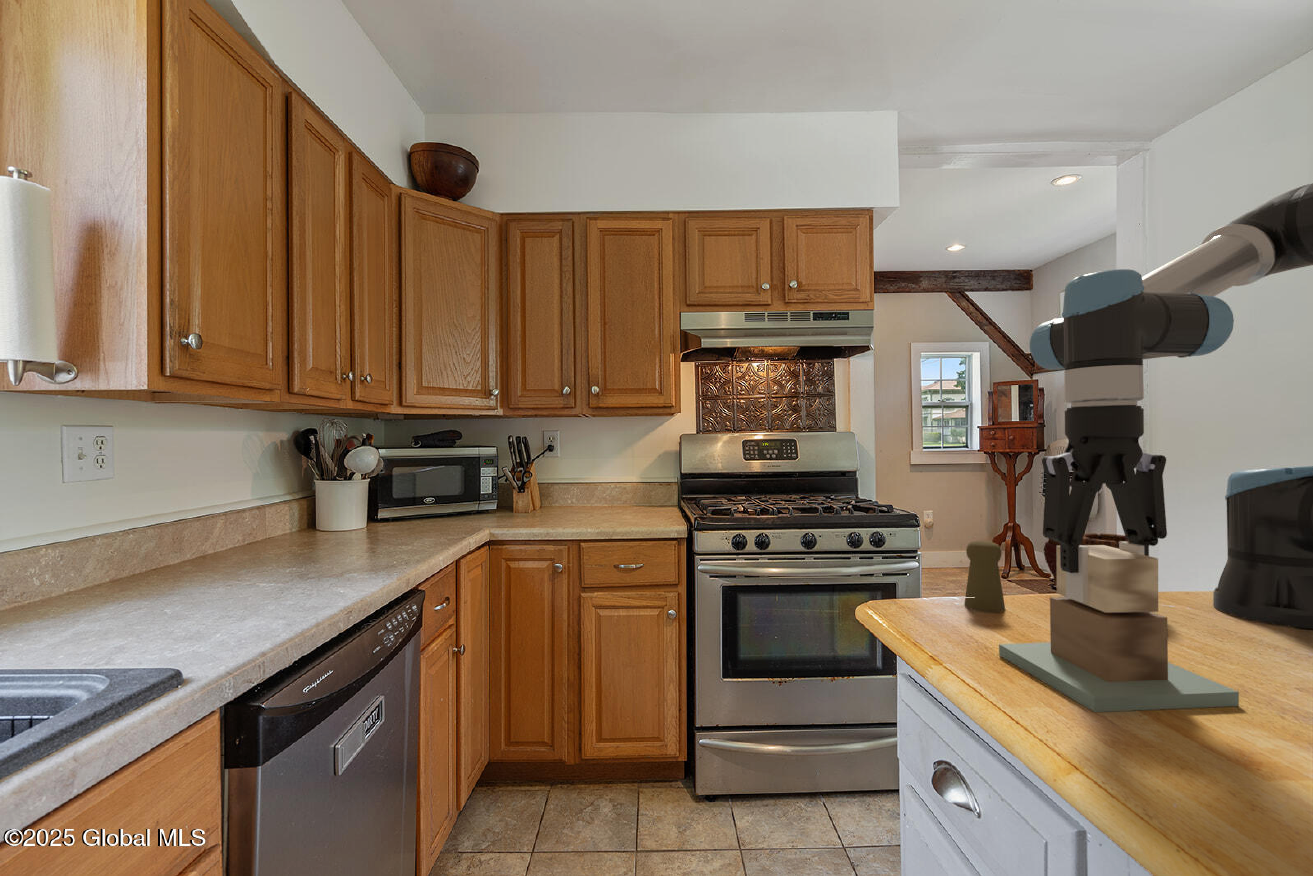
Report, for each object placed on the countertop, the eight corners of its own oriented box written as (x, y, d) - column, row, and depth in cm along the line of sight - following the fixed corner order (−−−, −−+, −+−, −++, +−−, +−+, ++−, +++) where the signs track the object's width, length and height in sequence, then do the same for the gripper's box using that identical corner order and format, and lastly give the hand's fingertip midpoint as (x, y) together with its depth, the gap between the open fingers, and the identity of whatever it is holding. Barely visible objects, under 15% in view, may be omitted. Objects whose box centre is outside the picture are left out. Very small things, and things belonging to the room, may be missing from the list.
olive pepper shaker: (982, 613, 96) (981, 545, 96) (956, 603, 102) (955, 539, 102) (1014, 610, 98) (1013, 543, 98) (986, 600, 104) (985, 537, 103)
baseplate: (1115, 651, 79) (1115, 640, 79) (1238, 706, 63) (1238, 692, 63) (999, 655, 78) (999, 644, 78) (1094, 712, 62) (1094, 697, 62)
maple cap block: (1103, 592, 75) (1103, 545, 75) (1158, 611, 67) (1158, 558, 67) (1056, 593, 75) (1056, 545, 75) (1105, 612, 67) (1105, 559, 67)
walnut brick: (1104, 650, 76) (1103, 595, 76) (1168, 679, 67) (1167, 617, 67) (1050, 652, 75) (1049, 597, 75) (1107, 681, 66) (1106, 619, 66)
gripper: (1151, 405, 75) (1153, 588, 75) (1005, 407, 74) (1007, 592, 74) (1210, 402, 67) (1211, 605, 67) (1047, 404, 66) (1049, 610, 67)
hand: (1104, 598), depth 71 cm, fingers closed on maple cap block, 6 cm apart
